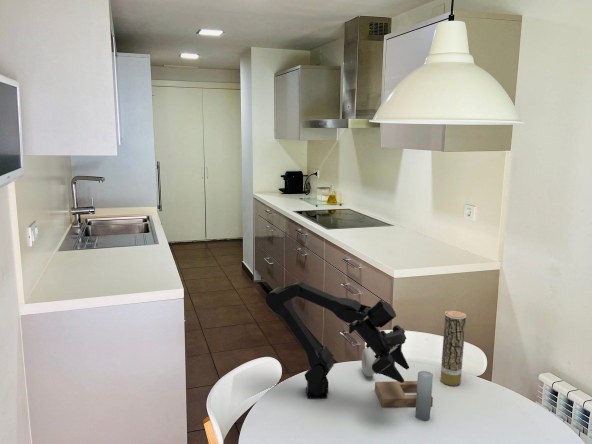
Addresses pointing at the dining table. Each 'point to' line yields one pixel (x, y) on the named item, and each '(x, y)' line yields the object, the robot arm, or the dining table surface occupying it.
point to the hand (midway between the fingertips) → (405, 375)
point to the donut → (368, 361)
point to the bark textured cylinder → (453, 347)
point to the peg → (424, 395)
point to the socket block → (397, 394)
